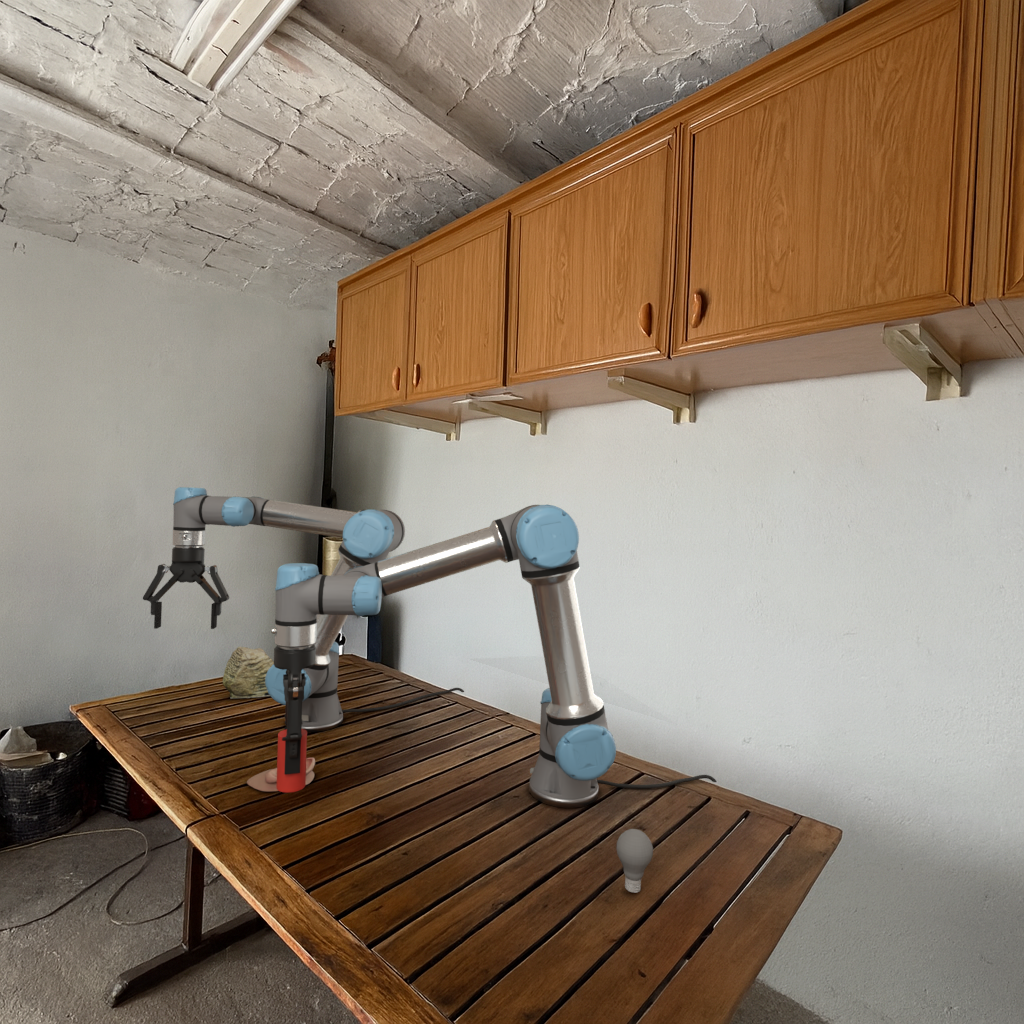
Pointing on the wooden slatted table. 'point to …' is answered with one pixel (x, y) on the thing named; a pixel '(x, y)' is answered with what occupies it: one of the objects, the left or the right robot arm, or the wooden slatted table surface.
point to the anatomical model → (269, 777)
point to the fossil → (247, 673)
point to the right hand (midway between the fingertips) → (291, 766)
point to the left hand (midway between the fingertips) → (185, 627)
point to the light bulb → (634, 857)
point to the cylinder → (289, 780)
